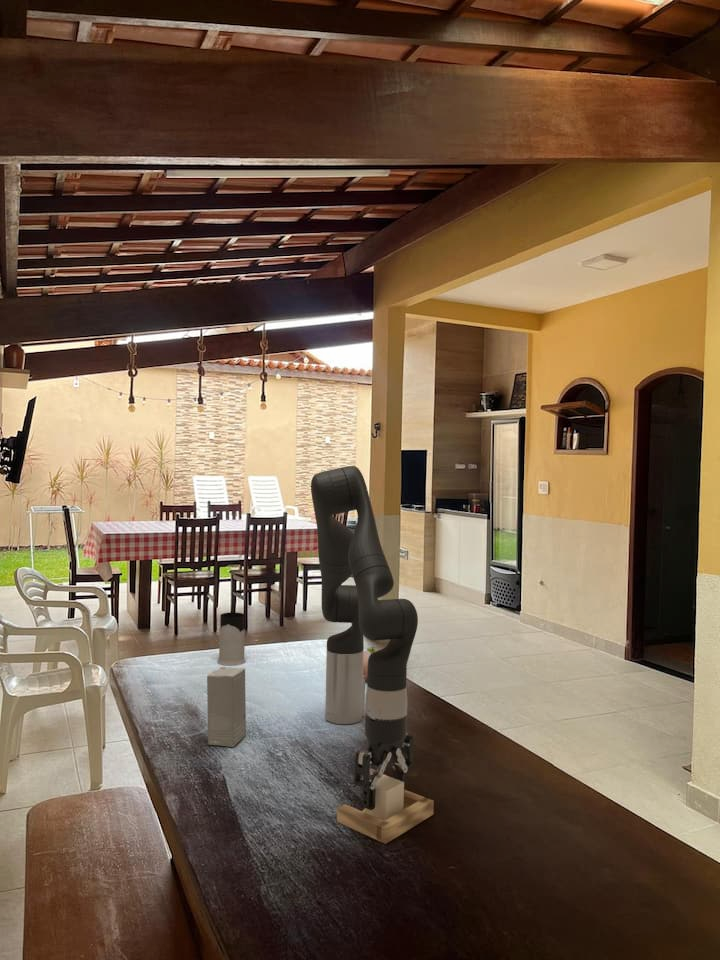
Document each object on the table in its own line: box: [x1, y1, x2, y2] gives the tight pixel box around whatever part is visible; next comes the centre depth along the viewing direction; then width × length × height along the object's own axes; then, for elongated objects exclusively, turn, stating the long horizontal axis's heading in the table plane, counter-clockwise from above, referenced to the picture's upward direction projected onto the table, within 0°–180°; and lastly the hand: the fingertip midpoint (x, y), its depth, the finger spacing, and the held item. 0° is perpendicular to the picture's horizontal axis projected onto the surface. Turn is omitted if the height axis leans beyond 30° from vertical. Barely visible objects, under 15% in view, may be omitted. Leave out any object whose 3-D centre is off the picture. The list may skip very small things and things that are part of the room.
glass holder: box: [217, 612, 246, 667], centre depth 232 cm, size 9×14×15 cm, turn 170°
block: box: [363, 773, 404, 821], centre depth 131 cm, size 5×5×6 cm
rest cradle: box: [336, 789, 435, 845], centre depth 130 cm, size 14×11×2 cm
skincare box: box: [206, 666, 247, 748], centre depth 165 cm, size 8×7×16 cm
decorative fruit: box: [363, 646, 377, 678], centre depth 213 cm, size 9×8×10 cm
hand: (384, 800), depth 131 cm, fingers open, 8 cm apart
